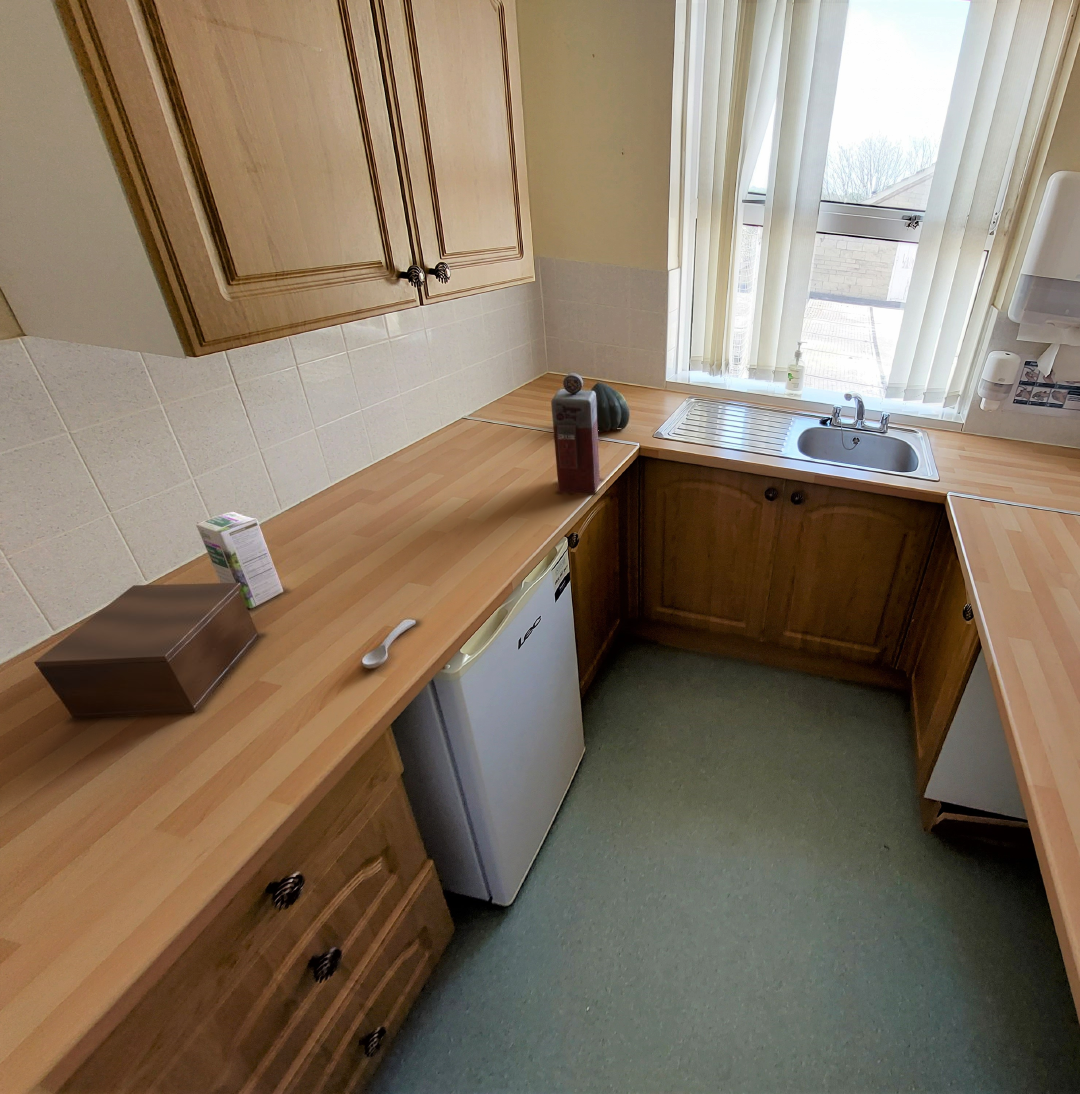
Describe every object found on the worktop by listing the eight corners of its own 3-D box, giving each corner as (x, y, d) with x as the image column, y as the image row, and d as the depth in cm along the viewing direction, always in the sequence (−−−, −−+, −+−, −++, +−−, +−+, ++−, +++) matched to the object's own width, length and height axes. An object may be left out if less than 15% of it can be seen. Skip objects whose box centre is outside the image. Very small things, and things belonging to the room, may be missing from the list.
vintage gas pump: (556, 496, 138) (546, 380, 124) (564, 478, 148) (556, 368, 133) (594, 498, 139) (588, 382, 125) (599, 479, 148) (595, 370, 134)
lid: (135, 589, 82) (133, 585, 82) (242, 586, 85) (240, 582, 84) (36, 667, 68) (33, 662, 68) (167, 661, 71) (164, 656, 70)
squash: (631, 421, 173) (627, 376, 176) (580, 423, 170) (577, 377, 173) (630, 439, 187) (626, 396, 190) (584, 441, 184) (580, 398, 187)
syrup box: (226, 600, 95) (191, 524, 88) (262, 583, 100) (232, 509, 93) (250, 609, 94) (217, 532, 86) (286, 591, 98) (257, 517, 91)
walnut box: (158, 640, 86) (131, 592, 82) (259, 636, 88) (239, 590, 84) (73, 719, 73) (36, 667, 68) (195, 712, 75) (167, 661, 71)
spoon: (358, 671, 83) (355, 660, 82) (403, 625, 94) (401, 615, 93) (378, 673, 83) (375, 662, 82) (421, 627, 94) (419, 617, 93)
